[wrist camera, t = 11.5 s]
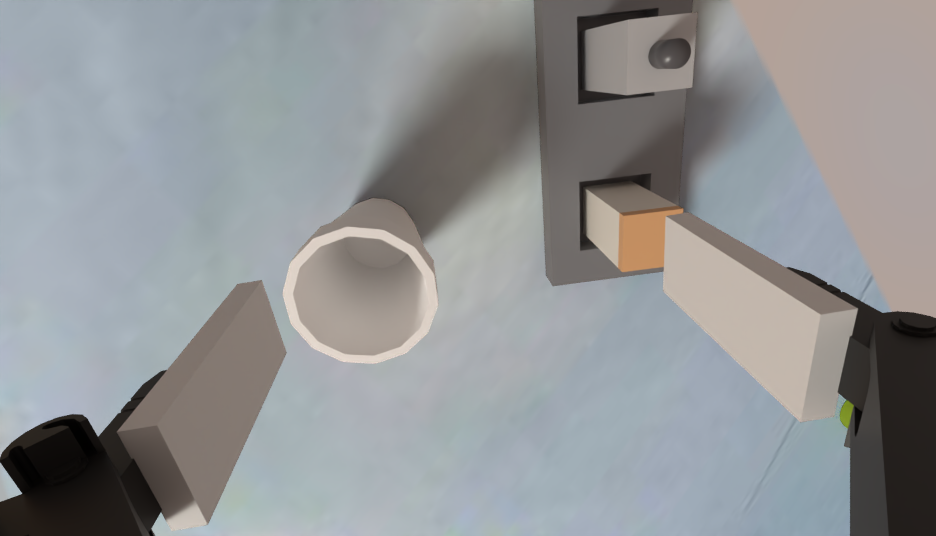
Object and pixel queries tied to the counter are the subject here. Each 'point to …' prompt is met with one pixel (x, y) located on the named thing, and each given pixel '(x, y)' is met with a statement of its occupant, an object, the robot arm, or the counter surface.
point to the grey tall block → (640, 55)
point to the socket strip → (597, 132)
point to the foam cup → (363, 285)
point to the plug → (627, 223)
